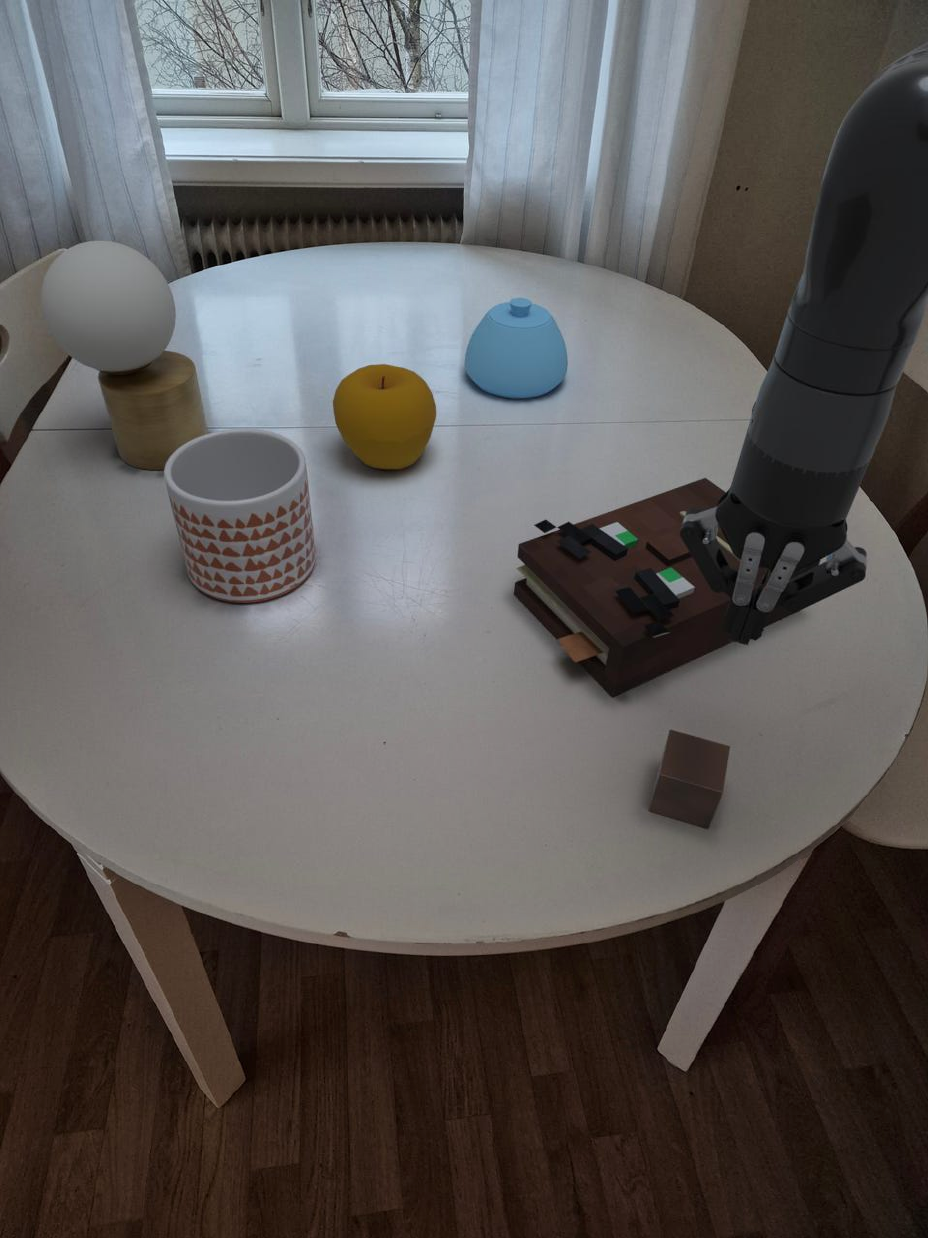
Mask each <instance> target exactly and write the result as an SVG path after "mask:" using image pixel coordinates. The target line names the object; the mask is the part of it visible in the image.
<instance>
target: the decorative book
mask: <svg viewBox="0 0 928 1238" xmlns="http://www.w3.org/2000/svg"><path fill="white" fill-rule="evenodd" d="M726 492H727V491H725V490H723V489H722V488H721V487H719V486H718V485H716V484H715V483H714V482H713V481H711V480H709V479H708V478H707V477H703V478H701V479H700V478H699V479H698V480H695V481H692V482H689V483H686V484H684V485H681V486H678V487H675V488H672V489H670V490H667V491H666V490H665V491H663V492H661V493H658V494H654V495H653V496H650V497H647V498H644V499H641V500H639V501H636V502H633V503H630V504H627V505H625V506H621V507H619V508H616V509H613V510H611V511H608V512H605V513H602V514H599V515H596V516H593V517H591V518H587V519H585V520H582V521H579V522H576V523H574V524H573V523H572V522H570V521H566V522H564V523H562V524H561V525H558V526H556V525H554V524H553V523H552V522H550V520H547V519H543V520H541V521H539V522H537V523H535V524H533V526H534V527H536V529H538V530H539V531H541V532H542V533H544V534H543V535H540V536H537V537H534V538H531V539H529V540H525V541H523V542H520V543H518V545H517V546H518V547H517V556H516V557H517V558H518V560H520V561H521V562H522V563H523V565H521V566H519V567H516V570H517V571H518V572H519V573H520V574H521V575H522V576H523V577H524V578H522V579H519V580H517V581H514V590H513V596H515V597H516V598H517V599H518V600H519V601H520V602H521V603H522V605H523V606H524V607H525V608H527V610H528V611H529V612H530V613H531V614H532V615H533V616H534V617H535V619H537V620H538V621H539V622H540V624H542V625H543V627H544V628H546V630H547V631H548V632H549V633H550V634H551V635H552V636H553V637H554V638H555V639H556V641H557V642H558V644H559V645H560V646H561V647H562V649H563V650H564V651H565V652H566V654H567V656H569V657H570V659H571V660H572V661H573V663H579V664H580V666H582V668H583V669H584V670H585V671H586V672H587V673H588V674H589V675H590V676H591V677H592V678H593V679H594V680H595V681H596V682H597V683H598V684H599V685H600V686H601V687H602V689H603V690H604V691H605V692H606V693H607V694H608V695H609V696H610V697H611V698H614V697H617V696H620V695H622V694H623V693H625V692H627V691H630V690H632V689H634V688H636V687H638V686H640V685H642V684H645V683H647V682H649V681H651V680H653V679H656V678H657V677H661V676H662V675H664V674H666V673H669V672H670V671H672V670H675V669H677V668H679V667H682V666H684V665H686V664H688V663H690V662H692V661H694V660H696V659H698V658H701V657H703V656H705V655H707V654H709V653H711V652H714V651H717V650H718V649H720V648H722V647H724V646H726V645H728V644H731V643H734V642H733V641H729V640H728V638H729V633H726V632H723V627H722V626H723V622H724V617H725V613H726V610H727V607H728V604H729V601H730V597H729V596H728V595H727V594H726V593H724V592H721V593H717V592H714V591H712V590H711V589H710V587H709V585H708V583H707V582H706V580H705V578H704V576H703V575H702V573H701V571H700V569H699V568H698V566H697V564H696V563H695V561H694V559H693V557H692V556H691V554H690V552H689V550H688V549H687V547H686V545H685V543H684V542H683V540H682V538H681V536H680V530H681V527H682V524H683V521H684V518H685V514H686V512H687V510H689V509H691V508H697V509H699V510H701V512H703V511H706V510H709V509H712V508H714V507H717V505H718V501H719V499H720V498H721V496H722V495H723V494H725V493H726ZM556 528H557V530H555V529H556ZM552 530H554V531H552ZM550 531H551V532H550ZM548 532H549V533H548ZM716 538H717V540H718V542H719V544H720V546H721V547H722V549H723V551H724V553H725V555H726V556H727V558H728V560H729V562H730V564H731V568H733V569H734V570H736V571H739V566H740V562H741V560H740V559H738V558H737V557H736V556H735V555H734V554H733V552H732V550H731V548H730V546H729V544H728V542H727V540H726V538H725V536H724V534H723V532H722V530H721V528H720V526H719V525H718V532H717V536H716ZM821 560H822V559H821ZM821 560H819V561H817V562H815V563H814V564H812V565H810V566H808V567H806V568H805V569H803V570H801V571H798V572H793V573H792V575H791V577H790V579H789V580H791V579H793V578H795V577H797V576H799V575H800V574H802V573H804V572H806V571H808V570H810V569H812V568H814V567H816V566H818V565H820V564H821ZM766 570H767V568H762V567H758V571H757V575H756V579H755V583H754V586H753V592H754V590H755V591H757V590H758V588H759V586H760V583H761V581H762V578H763V576H764V574H765V572H766ZM793 614H796V612H790V611H788V610H786V609H785V607H780V608H775V609H773V610H772V611H771V612H770V614H769V617H768V619H767V622H766V625H765V627H768V626H770V625H772V624H775V623H776V622H779V621H780V620H783V619H785V618H787V617H788V616H791V615H793Z"/></svg>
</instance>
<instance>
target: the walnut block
mask: <svg viewBox="0 0 928 1238" xmlns="http://www.w3.org/2000/svg"><path fill="white" fill-rule="evenodd" d="M730 749H731V746H730V745H728V744H724V743H721V742H717V741H713V740H709V739H706V738H703V737H699V736H695V735H691V734H688V733H684V732H681V731H677V730H673V729H669V731H668V734H667V738H666V740H665V744H664V747H663V751H662V754H661V757H660V760H659V763H658V767H657V772H656V776H655V781H654V784H653V789H652V793H651V798H650V802H649V806H648V812H651V813H654V814H658V815H662V816H664V817H668V818H671V819H675V820H677V821H681V822H685V823H688V824H692V825H695V826H698V827H701V828H704V829H707V830H708V829H710V827H711V824H712V821H713V819H714V817H715V814H716V812H717V809H718V806H719V804H720V802H721V798H722V796H723V794H724V788H725V783H726V776H727V769H728V763H729V757H730V751H731V750H730Z"/></svg>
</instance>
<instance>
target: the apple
mask: <svg viewBox="0 0 928 1238" xmlns="http://www.w3.org/2000/svg"><path fill="white" fill-rule="evenodd" d="M332 399H333V400H332V409H333V416H334V422H335V425H336V427H337V429H338V431H339V434H340V436H341V437H342V440H343V441H344V443H345V444H346V445H347V446H348V448H349V449H350V450H351V451H352V453H353V454H354V455H355V456H356V457H357V458H358V459H360V461H362V463H364V464H365V465H366V466H369V467H371V468H373V469H380V470H403V469H405V468H407V467H409V466H412V465H413V464H414V463H416V461H418V459H419V458H420V457H421V456H422V455H423V453H424V451H425V450H426V447H427V445H428V443H429V441H430V440H431V437H432V434H433V430H434V426H435V423H436V420H437V419H436V418H437V404H436V401H435V398H434V394H433V392H432V390H431V388H430V386H429V385H428V383H427V382H426V380H425V379H424V378H423V377H421V376H420V375H419V374H418V373H416V371H413V370H410V369H408V368H405V367H401V366H396V365H392V364H386V363H382V364H381V363H380V364H368V365H365V366H362V367H359V368H357V369H355V370H354V371H353V372H351V373H349V374H348V375H347V376H345V377H344V378H343V379H341V380H340V382H339V384H338V385H337V387H336V389H335V391H334V395H333V398H332Z"/></svg>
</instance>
